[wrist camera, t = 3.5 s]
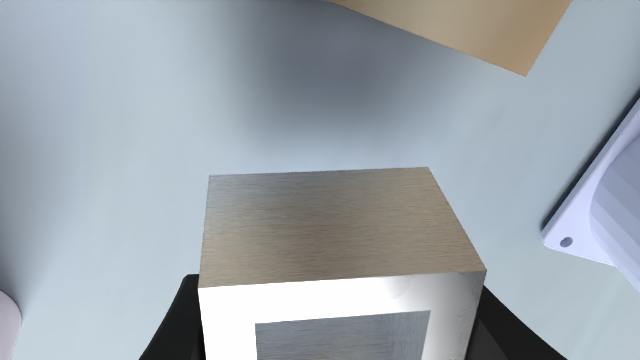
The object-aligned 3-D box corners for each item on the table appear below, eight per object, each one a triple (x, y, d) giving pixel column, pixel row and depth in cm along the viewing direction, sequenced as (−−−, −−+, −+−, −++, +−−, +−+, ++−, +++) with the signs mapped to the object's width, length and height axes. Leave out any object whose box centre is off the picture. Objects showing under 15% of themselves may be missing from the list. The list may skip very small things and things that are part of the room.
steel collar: (428, 166, 14) (487, 270, 11) (403, 319, 17) (443, 438, 14) (209, 175, 13) (198, 288, 10) (223, 332, 16) (218, 460, 13)
